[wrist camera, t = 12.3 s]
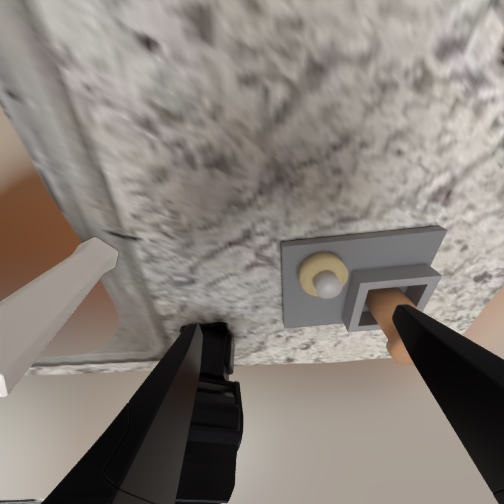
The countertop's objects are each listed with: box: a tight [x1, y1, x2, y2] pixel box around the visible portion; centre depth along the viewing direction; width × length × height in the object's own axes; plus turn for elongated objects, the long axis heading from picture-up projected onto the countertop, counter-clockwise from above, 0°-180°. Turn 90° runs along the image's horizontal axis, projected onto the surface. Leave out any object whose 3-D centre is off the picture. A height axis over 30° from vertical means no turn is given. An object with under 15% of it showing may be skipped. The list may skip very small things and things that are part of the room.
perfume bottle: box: [0, 237, 118, 397], centre depth 15 cm, size 5×4×15 cm
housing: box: [281, 226, 447, 332], centre depth 22 cm, size 16×13×4 cm
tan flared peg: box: [365, 287, 419, 365], centre depth 21 cm, size 5×5×7 cm
